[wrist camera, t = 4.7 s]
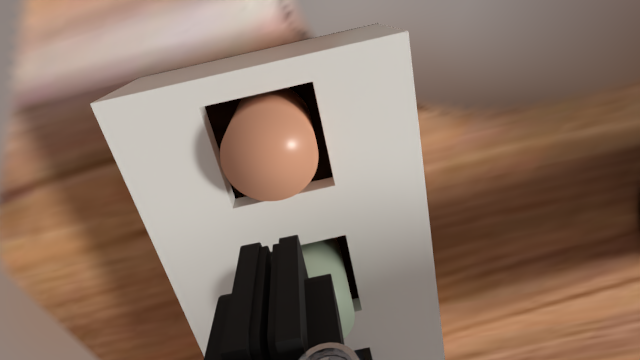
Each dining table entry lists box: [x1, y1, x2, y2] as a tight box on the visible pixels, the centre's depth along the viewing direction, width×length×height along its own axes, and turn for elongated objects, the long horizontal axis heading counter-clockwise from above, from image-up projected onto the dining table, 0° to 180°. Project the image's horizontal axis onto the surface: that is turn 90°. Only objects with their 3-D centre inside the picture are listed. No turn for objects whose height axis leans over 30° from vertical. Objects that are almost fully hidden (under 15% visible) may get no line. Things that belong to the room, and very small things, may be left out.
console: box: [90, 24, 445, 360], centre depth 23 cm, size 13×22×6 cm, turn 12°
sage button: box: [271, 238, 355, 339], centre depth 21 cm, size 4×4×5 cm
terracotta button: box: [220, 88, 319, 201], centre depth 19 cm, size 4×4×5 cm
